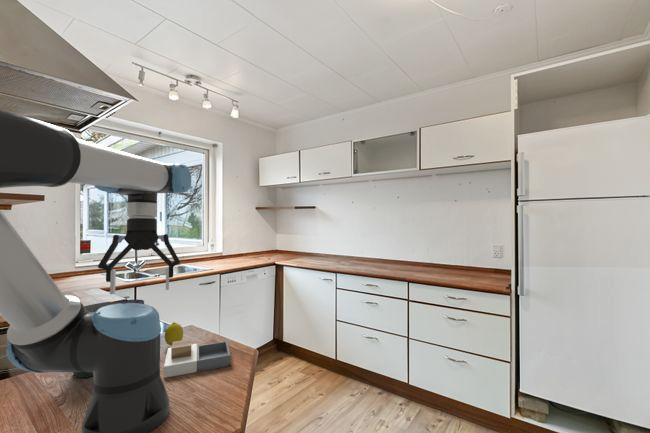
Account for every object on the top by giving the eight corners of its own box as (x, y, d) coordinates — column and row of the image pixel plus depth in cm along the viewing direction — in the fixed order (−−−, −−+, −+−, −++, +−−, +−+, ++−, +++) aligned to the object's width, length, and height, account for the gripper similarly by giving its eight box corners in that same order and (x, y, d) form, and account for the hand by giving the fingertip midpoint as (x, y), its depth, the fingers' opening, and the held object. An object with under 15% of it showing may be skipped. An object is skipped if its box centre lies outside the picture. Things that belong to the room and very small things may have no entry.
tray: (230, 365, 87) (230, 355, 87) (197, 371, 83) (197, 360, 83) (227, 350, 97) (227, 341, 97) (197, 355, 93) (197, 345, 94)
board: (196, 371, 83) (196, 360, 83) (163, 378, 80) (163, 366, 80) (196, 353, 95) (196, 343, 95) (168, 357, 92) (168, 347, 92)
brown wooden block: (191, 355, 86) (190, 345, 86) (171, 359, 84) (171, 348, 85) (191, 349, 91) (191, 339, 91) (172, 352, 89) (172, 341, 89)
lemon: (162, 346, 101) (162, 322, 101) (180, 342, 104) (180, 318, 104) (167, 351, 96) (167, 326, 97) (185, 346, 100) (185, 322, 100)
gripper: (188, 218, 98) (187, 285, 97) (93, 218, 87) (91, 292, 86) (189, 217, 91) (188, 289, 90) (85, 216, 80) (83, 298, 79)
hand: (140, 291), depth 88 cm, fingers open, 13 cm apart
